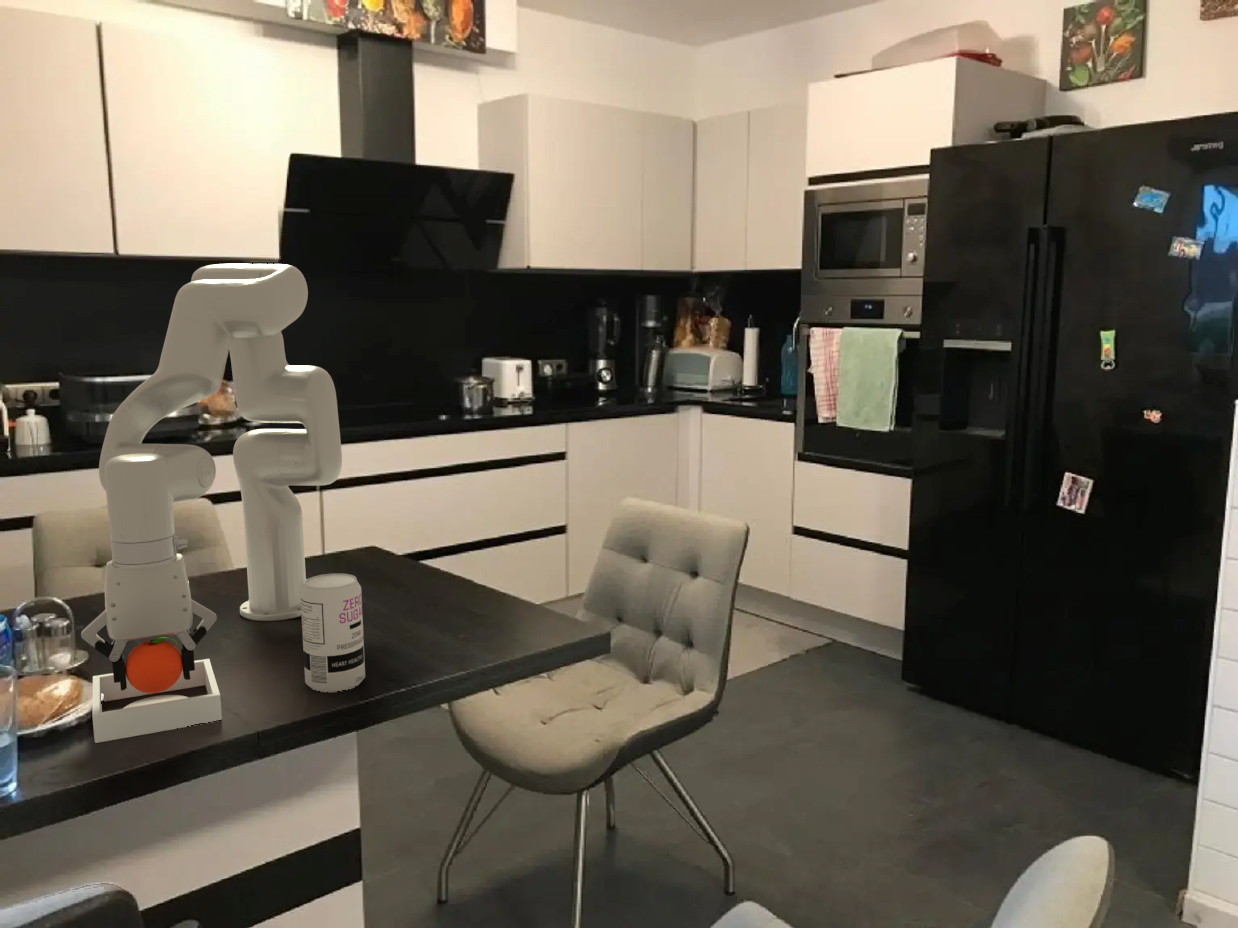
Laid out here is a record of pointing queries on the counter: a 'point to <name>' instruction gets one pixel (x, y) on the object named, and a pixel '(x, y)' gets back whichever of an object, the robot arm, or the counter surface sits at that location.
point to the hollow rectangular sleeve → (154, 706)
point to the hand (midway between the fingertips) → (155, 680)
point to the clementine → (154, 665)
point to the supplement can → (332, 632)
